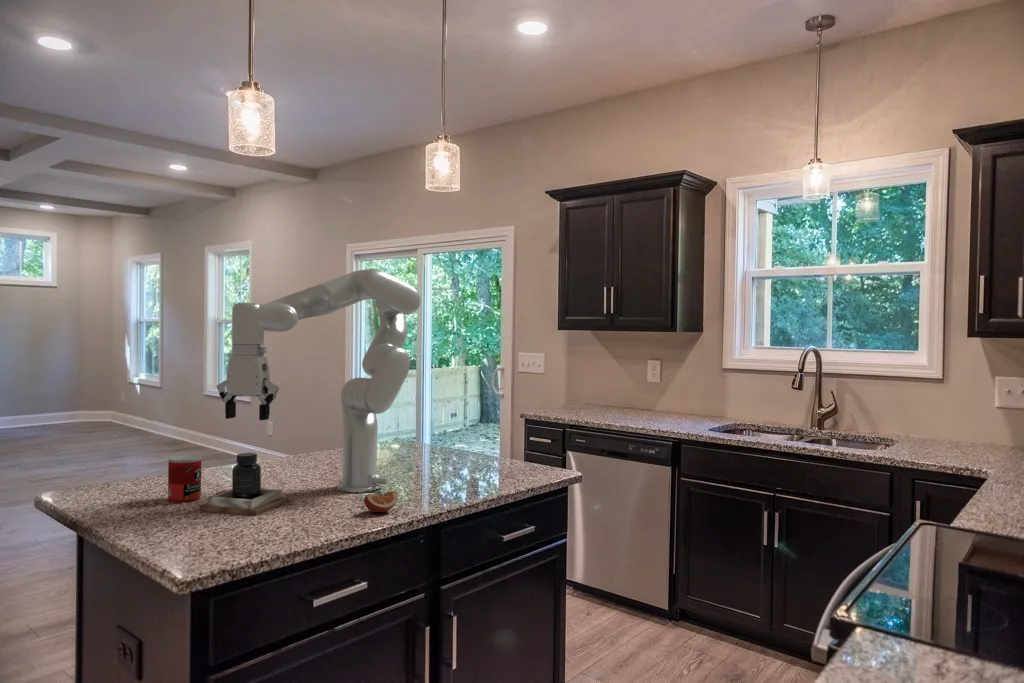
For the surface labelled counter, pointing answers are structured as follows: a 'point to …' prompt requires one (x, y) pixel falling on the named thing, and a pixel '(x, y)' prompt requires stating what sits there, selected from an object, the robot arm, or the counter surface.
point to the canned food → (184, 478)
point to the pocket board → (244, 502)
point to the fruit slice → (380, 501)
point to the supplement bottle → (246, 477)
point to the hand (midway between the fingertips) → (247, 418)
